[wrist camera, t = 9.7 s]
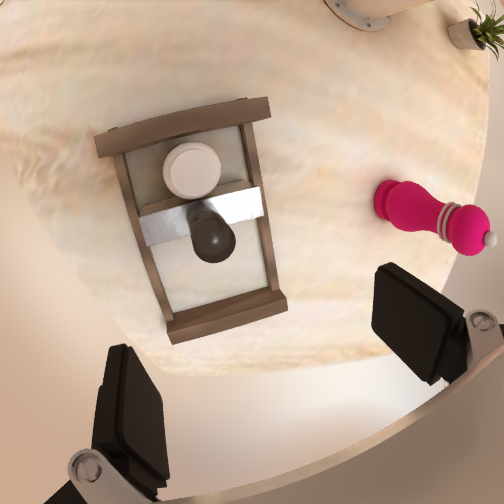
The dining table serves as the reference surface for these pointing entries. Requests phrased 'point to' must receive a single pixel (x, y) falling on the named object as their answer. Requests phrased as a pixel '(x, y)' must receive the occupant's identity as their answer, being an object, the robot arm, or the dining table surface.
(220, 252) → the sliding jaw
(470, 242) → the pepper mill
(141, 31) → the dining table surface
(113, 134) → the vise frame
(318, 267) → the dining table surface
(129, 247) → the dining table surface
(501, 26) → the house plant
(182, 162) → the supplement bottle
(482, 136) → the dining table surface
